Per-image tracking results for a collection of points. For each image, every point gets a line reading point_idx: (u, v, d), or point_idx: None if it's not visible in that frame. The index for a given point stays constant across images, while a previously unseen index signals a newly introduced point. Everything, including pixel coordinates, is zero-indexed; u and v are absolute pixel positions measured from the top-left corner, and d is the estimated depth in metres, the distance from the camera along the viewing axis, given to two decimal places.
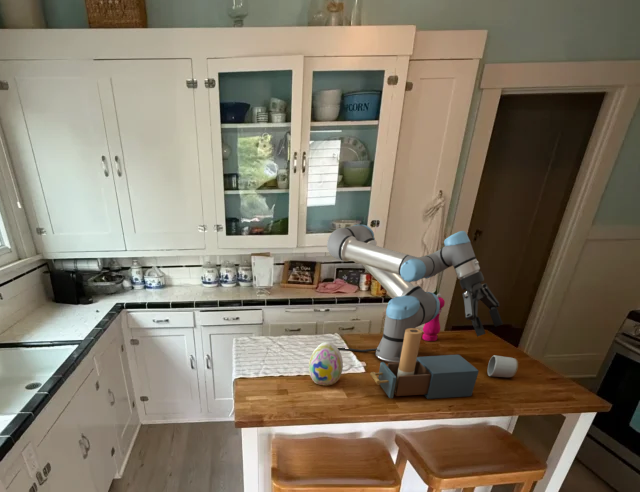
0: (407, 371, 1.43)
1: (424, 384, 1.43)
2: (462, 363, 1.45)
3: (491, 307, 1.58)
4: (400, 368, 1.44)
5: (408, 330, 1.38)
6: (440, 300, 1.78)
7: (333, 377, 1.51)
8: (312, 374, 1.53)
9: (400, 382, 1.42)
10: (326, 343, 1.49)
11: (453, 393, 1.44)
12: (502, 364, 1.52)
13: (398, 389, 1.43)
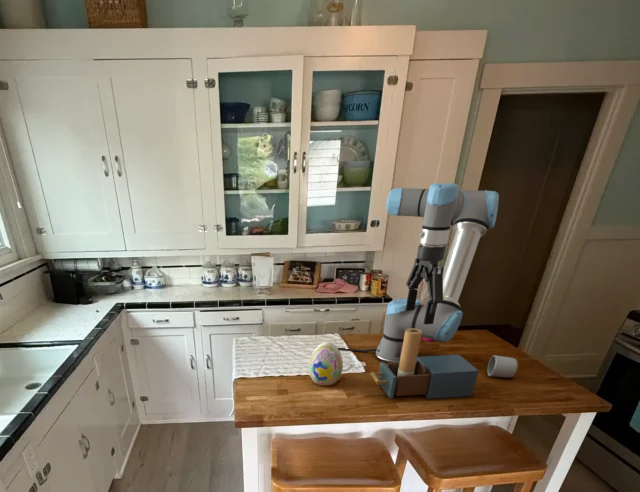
0: (407, 371, 1.43)
1: (424, 384, 1.43)
2: (462, 363, 1.45)
3: None
4: (400, 368, 1.44)
5: (408, 330, 1.38)
6: None
7: (333, 377, 1.51)
8: (312, 374, 1.53)
9: (400, 382, 1.42)
10: (326, 343, 1.49)
11: (453, 393, 1.44)
12: (502, 364, 1.52)
13: (398, 389, 1.43)
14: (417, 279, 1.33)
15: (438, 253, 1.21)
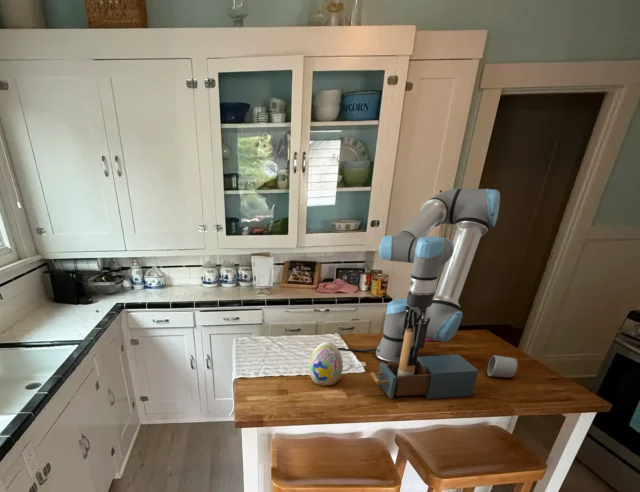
0: (407, 371, 1.43)
1: (424, 384, 1.43)
2: (462, 363, 1.45)
3: None
4: (400, 368, 1.44)
5: (408, 330, 1.38)
6: None
7: (333, 377, 1.51)
8: (312, 374, 1.53)
9: (400, 382, 1.42)
10: (326, 343, 1.49)
11: (453, 393, 1.44)
12: (502, 364, 1.52)
13: (398, 389, 1.43)
14: (410, 326, 1.39)
15: (426, 300, 1.29)
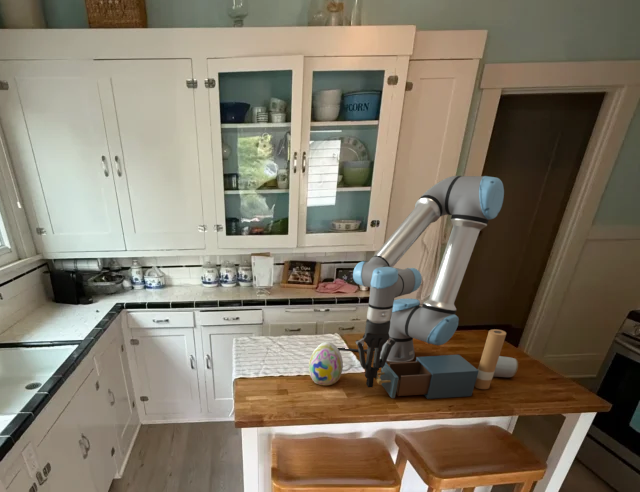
0: (488, 372, 1.46)
1: (426, 384, 1.43)
2: (462, 363, 1.45)
3: (374, 365, 1.44)
4: (481, 368, 1.47)
5: (492, 331, 1.41)
6: None
7: (333, 377, 1.51)
8: (312, 374, 1.53)
9: (402, 382, 1.42)
10: (326, 343, 1.49)
11: (453, 393, 1.44)
12: (502, 364, 1.52)
13: (400, 389, 1.43)
14: None
15: None
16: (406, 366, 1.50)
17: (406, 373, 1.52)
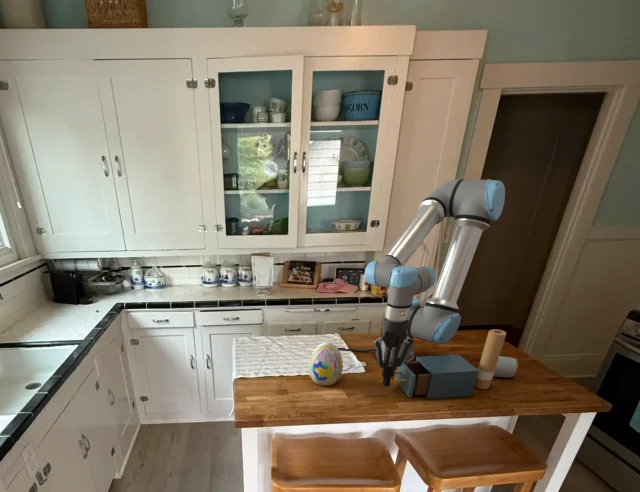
0: (488, 372, 1.46)
1: None
2: (462, 363, 1.45)
3: (391, 364, 1.44)
4: (481, 368, 1.47)
5: (492, 331, 1.41)
6: None
7: (333, 377, 1.51)
8: (312, 374, 1.53)
9: (419, 381, 1.42)
10: (326, 343, 1.49)
11: (453, 393, 1.44)
12: (502, 364, 1.52)
13: (417, 387, 1.43)
14: None
15: None
16: None
17: (423, 372, 1.52)
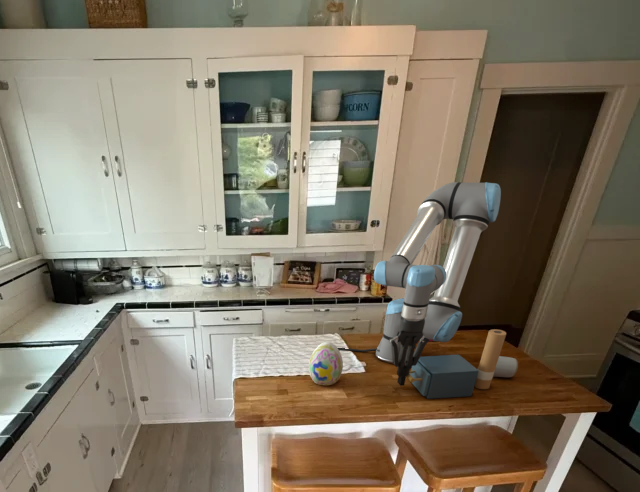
0: (488, 372, 1.46)
1: None
2: (462, 363, 1.45)
3: (406, 363, 1.45)
4: (481, 368, 1.47)
5: (492, 331, 1.41)
6: None
7: (333, 377, 1.51)
8: (312, 374, 1.53)
9: None
10: (326, 343, 1.49)
11: (453, 393, 1.44)
12: (502, 364, 1.52)
13: None
14: None
15: None
16: None
17: None
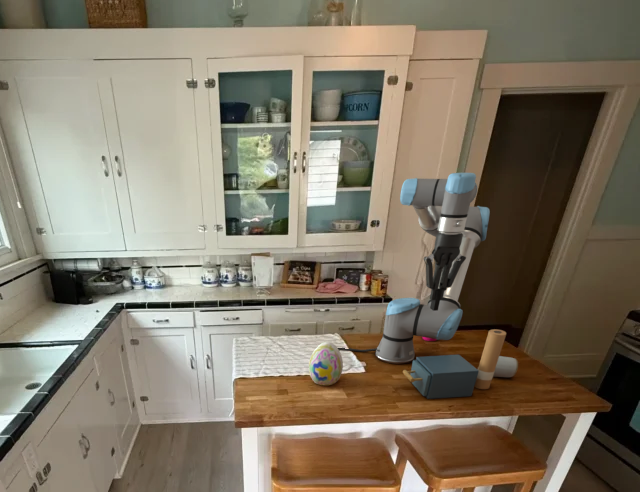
0: (488, 372, 1.46)
1: None
2: (462, 363, 1.45)
3: (441, 285, 1.38)
4: (481, 368, 1.47)
5: (492, 331, 1.41)
6: None
7: (333, 377, 1.51)
8: (312, 374, 1.53)
9: None
10: (326, 343, 1.49)
11: (453, 393, 1.44)
12: (502, 364, 1.52)
13: None
14: None
15: None
16: None
17: None
